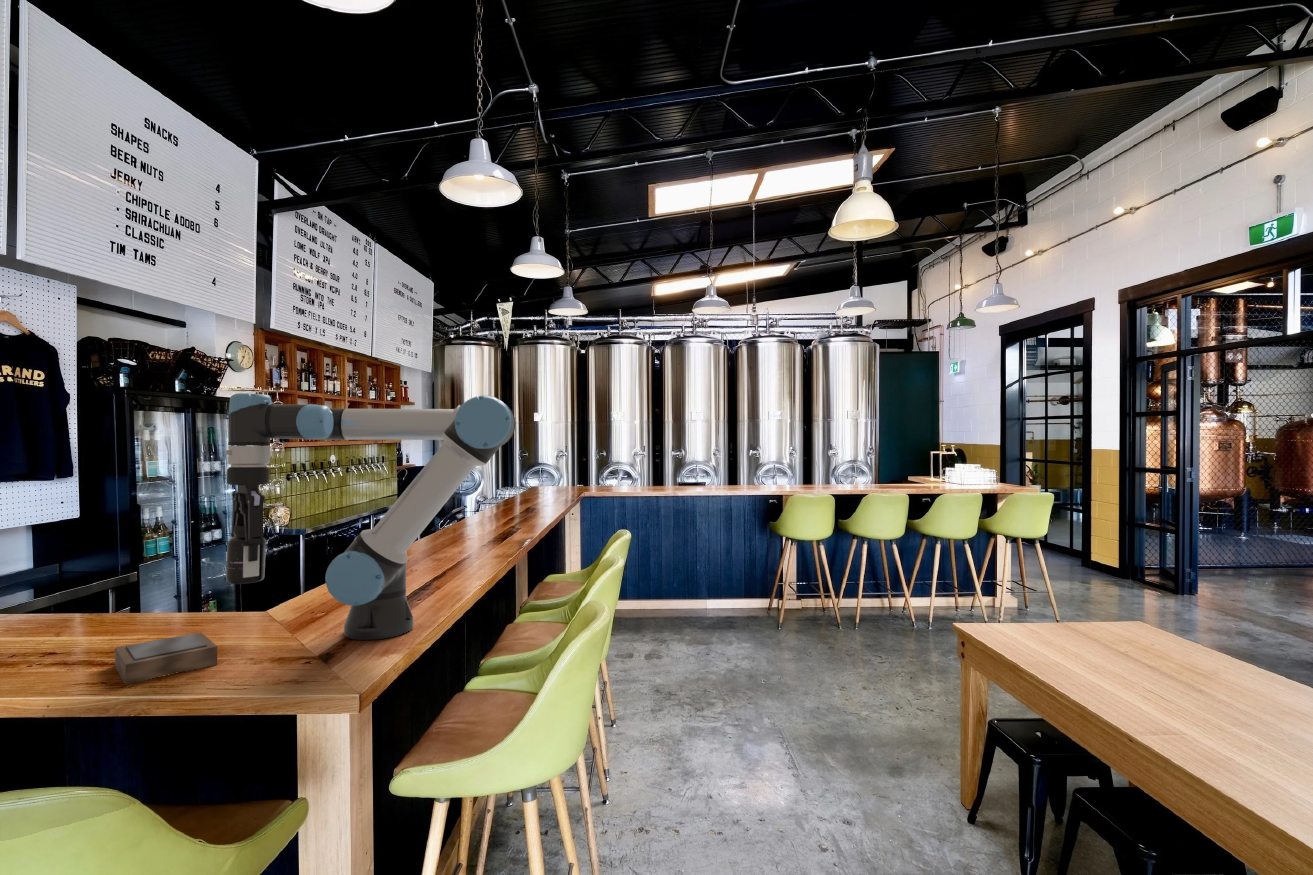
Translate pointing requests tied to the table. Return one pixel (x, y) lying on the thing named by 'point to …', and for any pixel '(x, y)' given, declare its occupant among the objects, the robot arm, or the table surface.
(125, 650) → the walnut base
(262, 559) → the supplement bottle
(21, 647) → the table surface
